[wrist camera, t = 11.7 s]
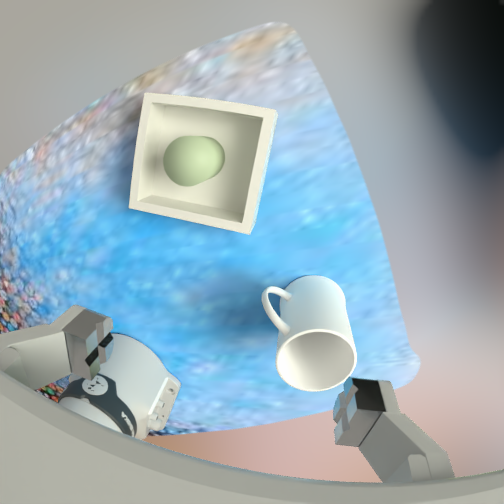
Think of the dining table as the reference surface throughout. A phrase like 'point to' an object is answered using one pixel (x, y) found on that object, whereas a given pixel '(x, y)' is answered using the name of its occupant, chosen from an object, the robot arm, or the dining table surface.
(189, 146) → the pale green rounded piece
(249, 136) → the bin
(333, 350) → the mug
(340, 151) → the dining table surface
